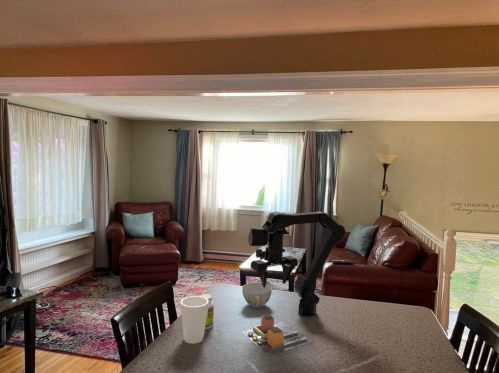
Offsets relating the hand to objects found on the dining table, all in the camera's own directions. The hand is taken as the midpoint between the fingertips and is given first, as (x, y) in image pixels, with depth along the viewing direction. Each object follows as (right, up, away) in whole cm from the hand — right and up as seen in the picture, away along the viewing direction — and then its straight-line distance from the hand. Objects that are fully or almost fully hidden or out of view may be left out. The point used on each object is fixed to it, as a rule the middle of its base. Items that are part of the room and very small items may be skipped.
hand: (274, 285), depth 135 cm
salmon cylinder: (-3, -13, -12) cm, 18 cm away
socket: (-3, -14, -12) cm, 18 cm away
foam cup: (-28, -14, -17) cm, 36 cm away
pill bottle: (-26, -13, -7) cm, 30 cm away
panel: (0, -14, -15) cm, 21 cm away
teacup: (-7, -12, +11) cm, 18 cm away
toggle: (-1, -14, -20) cm, 25 cm away
